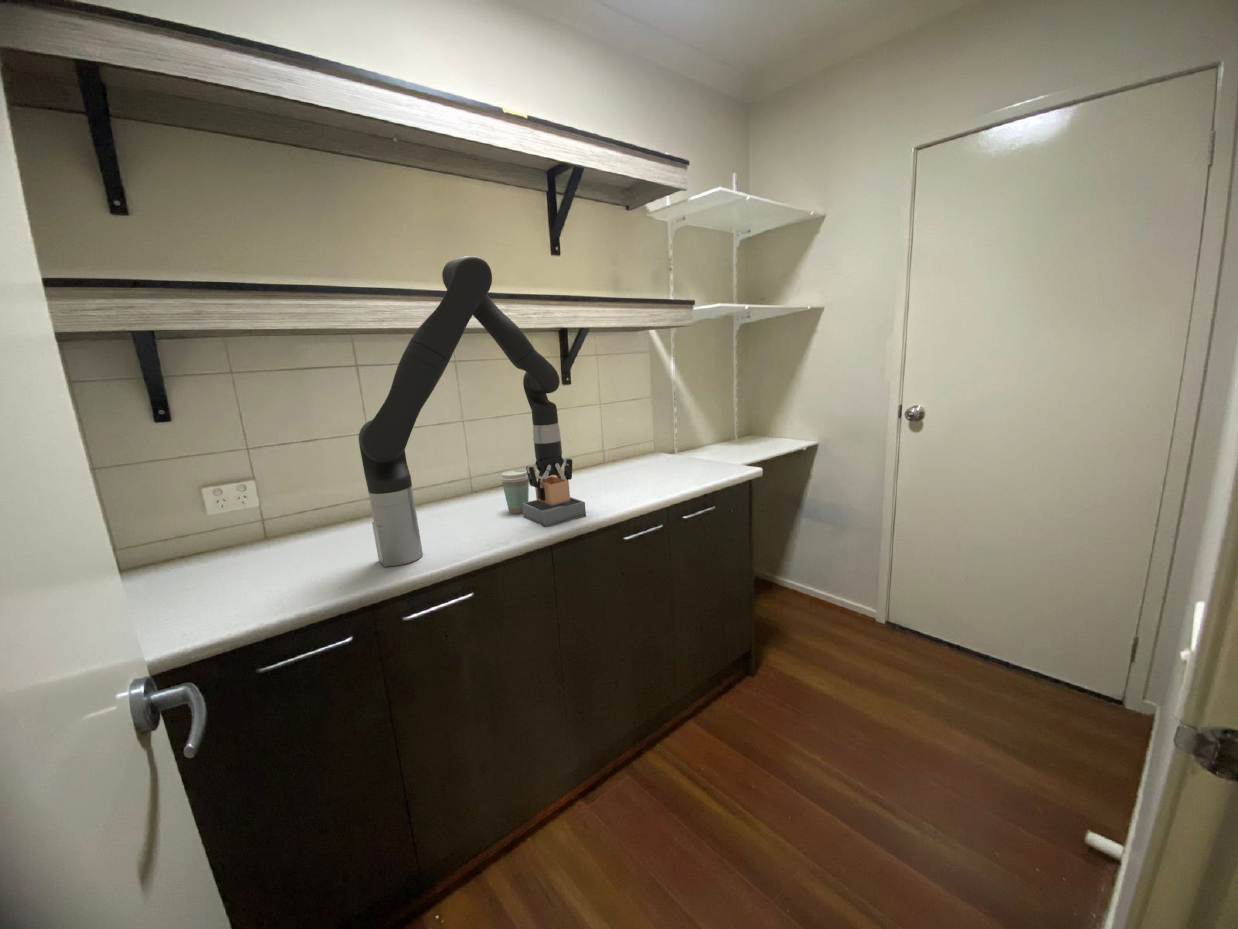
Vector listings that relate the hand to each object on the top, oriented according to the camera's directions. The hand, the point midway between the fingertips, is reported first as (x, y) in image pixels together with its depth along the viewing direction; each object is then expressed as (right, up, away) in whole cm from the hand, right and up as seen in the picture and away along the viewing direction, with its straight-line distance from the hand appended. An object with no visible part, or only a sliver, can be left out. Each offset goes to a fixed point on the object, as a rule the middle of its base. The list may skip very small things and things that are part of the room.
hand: (553, 497), depth 140 cm
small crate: (0, -1, 0) cm, 1 cm away
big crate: (0, -5, +1) cm, 6 cm away
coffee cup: (-12, -5, +9) cm, 15 cm away
